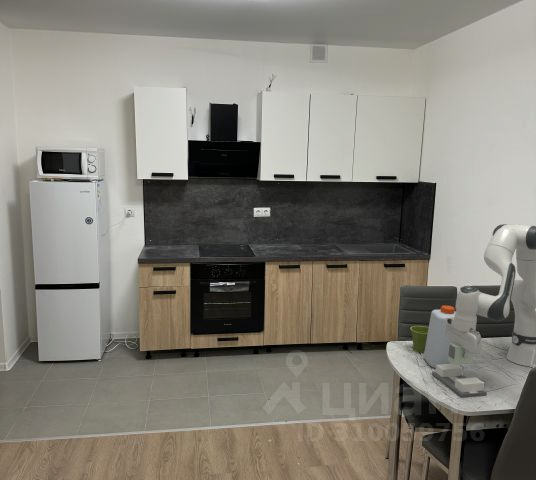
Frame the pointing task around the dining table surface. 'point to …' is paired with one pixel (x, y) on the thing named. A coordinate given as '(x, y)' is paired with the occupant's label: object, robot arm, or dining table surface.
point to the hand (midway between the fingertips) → (460, 355)
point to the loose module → (458, 355)
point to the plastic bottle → (438, 337)
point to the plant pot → (419, 338)
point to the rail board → (452, 387)
